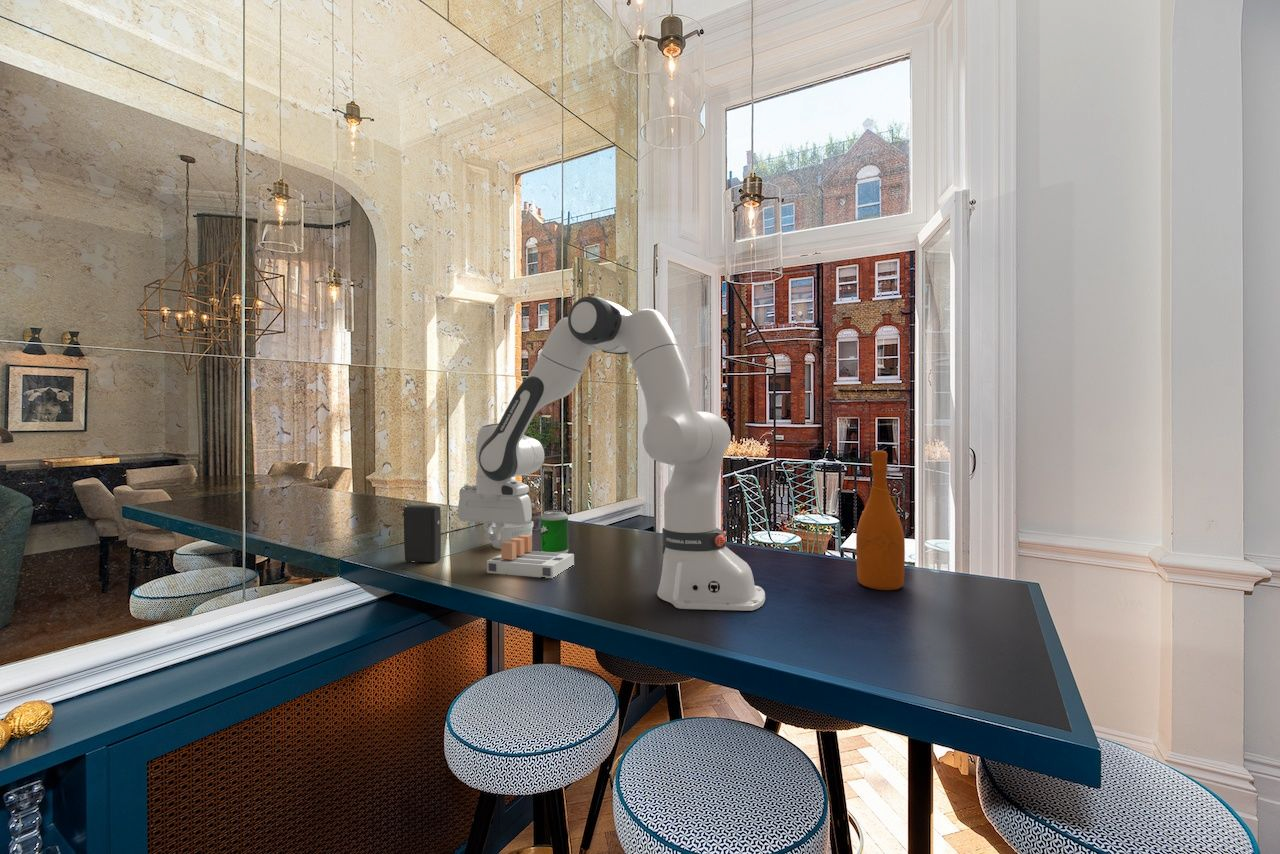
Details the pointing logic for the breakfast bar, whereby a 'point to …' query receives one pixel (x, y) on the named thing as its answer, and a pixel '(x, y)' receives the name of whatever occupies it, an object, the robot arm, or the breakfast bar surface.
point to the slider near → (508, 550)
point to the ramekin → (511, 532)
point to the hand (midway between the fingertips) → (494, 539)
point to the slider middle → (519, 546)
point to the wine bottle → (880, 534)
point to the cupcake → (535, 516)
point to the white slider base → (532, 564)
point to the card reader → (422, 533)
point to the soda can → (554, 532)
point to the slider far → (527, 542)
